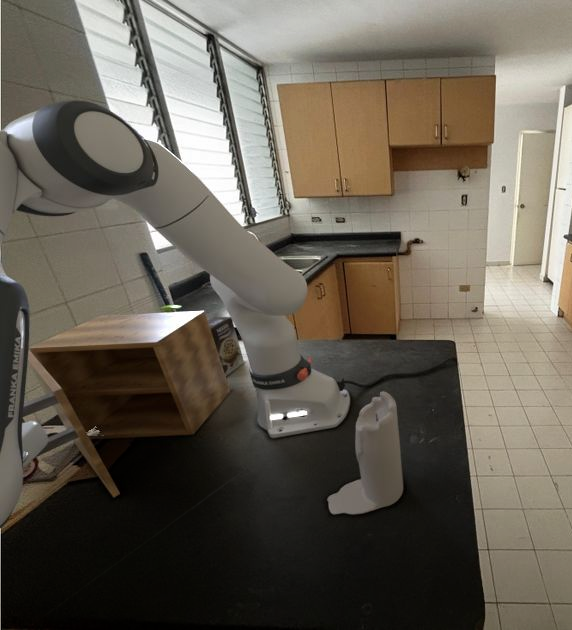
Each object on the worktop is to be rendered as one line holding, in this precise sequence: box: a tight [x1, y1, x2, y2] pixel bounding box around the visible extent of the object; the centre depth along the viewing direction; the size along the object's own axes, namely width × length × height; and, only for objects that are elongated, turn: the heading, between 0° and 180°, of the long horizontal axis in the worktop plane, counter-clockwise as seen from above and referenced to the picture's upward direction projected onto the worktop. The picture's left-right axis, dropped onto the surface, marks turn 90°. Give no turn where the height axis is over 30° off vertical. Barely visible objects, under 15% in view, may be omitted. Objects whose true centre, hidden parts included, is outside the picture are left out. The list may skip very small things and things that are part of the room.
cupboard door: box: [22, 350, 121, 498], centre depth 63 cm, size 7×26×24 cm, turn 56°
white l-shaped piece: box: [326, 391, 404, 515], centre depth 57 cm, size 7×14×20 cm, turn 108°
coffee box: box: [207, 316, 245, 377], centre depth 101 cm, size 9×6×16 cm
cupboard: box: [29, 310, 231, 440], centre depth 81 cm, size 17×26×24 cm, turn 91°
